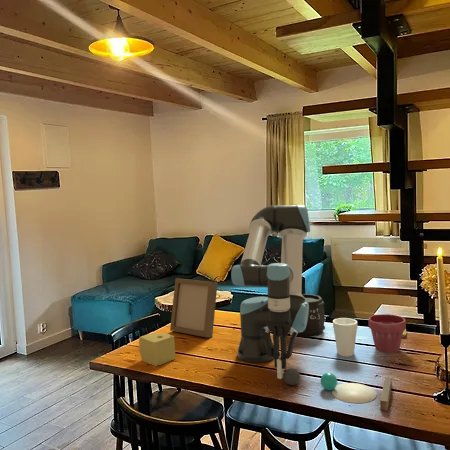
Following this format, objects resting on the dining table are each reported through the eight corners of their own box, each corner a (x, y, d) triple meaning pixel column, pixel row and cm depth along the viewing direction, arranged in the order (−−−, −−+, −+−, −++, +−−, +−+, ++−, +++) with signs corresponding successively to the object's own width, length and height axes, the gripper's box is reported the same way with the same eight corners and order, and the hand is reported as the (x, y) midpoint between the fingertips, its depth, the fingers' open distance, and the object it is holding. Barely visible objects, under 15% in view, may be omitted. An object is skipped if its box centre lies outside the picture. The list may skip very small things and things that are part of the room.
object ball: (319, 391, 153) (318, 375, 152) (322, 384, 158) (322, 369, 157) (336, 394, 151) (335, 377, 150) (338, 387, 156) (338, 371, 155)
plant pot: (370, 341, 197) (370, 312, 196) (406, 345, 191) (406, 314, 190) (367, 354, 184) (366, 322, 182) (405, 357, 178) (405, 325, 177)
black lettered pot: (296, 323, 227) (295, 291, 225) (330, 328, 216) (330, 295, 215) (277, 333, 212) (276, 300, 211) (314, 340, 202) (313, 304, 200)
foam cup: (358, 358, 180) (358, 325, 178) (334, 357, 182) (333, 324, 180) (356, 349, 189) (356, 318, 188) (333, 348, 191) (332, 317, 190)
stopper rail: (380, 410, 139) (380, 400, 139) (385, 385, 156) (385, 376, 155) (387, 411, 138) (387, 401, 138) (391, 385, 155) (391, 377, 155)
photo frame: (206, 339, 208) (204, 284, 206) (170, 332, 221) (167, 280, 219) (225, 330, 220) (223, 278, 218) (189, 324, 233) (187, 274, 231)
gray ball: (279, 383, 158) (284, 369, 157) (284, 376, 163) (288, 363, 162) (295, 390, 156) (299, 376, 155) (299, 383, 161) (303, 369, 160)
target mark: (328, 399, 147) (328, 398, 147) (335, 381, 160) (335, 380, 160) (374, 406, 142) (374, 405, 142) (378, 386, 155) (378, 386, 155)
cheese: (160, 353, 194) (159, 330, 193) (177, 359, 186) (175, 335, 185) (139, 361, 187) (138, 336, 186) (155, 367, 179) (154, 342, 178)
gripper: (257, 310, 157) (258, 378, 159) (293, 313, 151) (295, 384, 153) (265, 305, 164) (267, 370, 165) (301, 308, 158) (302, 376, 160)
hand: (280, 377), depth 159 cm, fingers closed
